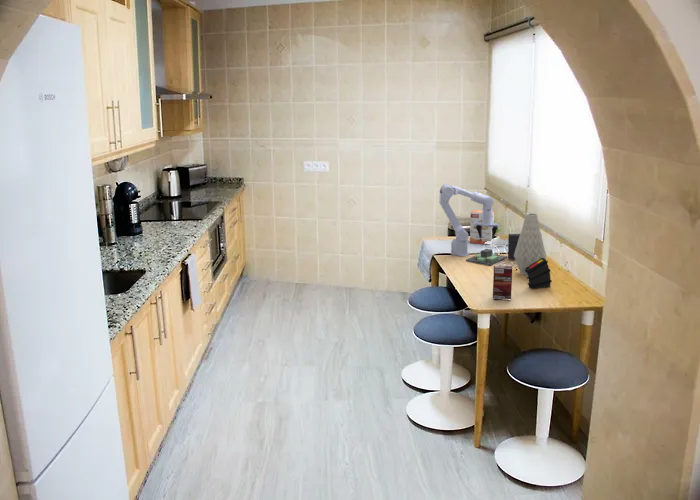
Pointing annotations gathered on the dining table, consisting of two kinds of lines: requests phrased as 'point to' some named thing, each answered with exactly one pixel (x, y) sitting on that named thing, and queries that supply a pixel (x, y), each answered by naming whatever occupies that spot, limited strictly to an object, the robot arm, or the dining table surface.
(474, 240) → the cracker box
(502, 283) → the supplement box
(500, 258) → the chassis plate
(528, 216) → the vase
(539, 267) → the magazine
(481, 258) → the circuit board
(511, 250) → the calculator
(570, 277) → the dining table surface
